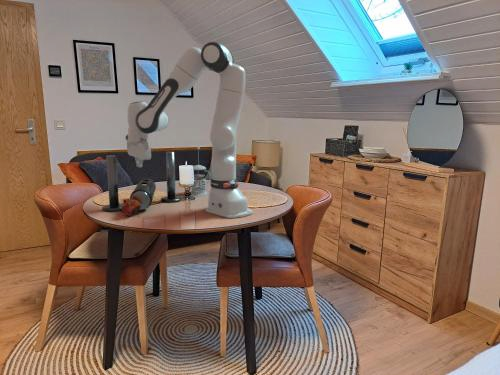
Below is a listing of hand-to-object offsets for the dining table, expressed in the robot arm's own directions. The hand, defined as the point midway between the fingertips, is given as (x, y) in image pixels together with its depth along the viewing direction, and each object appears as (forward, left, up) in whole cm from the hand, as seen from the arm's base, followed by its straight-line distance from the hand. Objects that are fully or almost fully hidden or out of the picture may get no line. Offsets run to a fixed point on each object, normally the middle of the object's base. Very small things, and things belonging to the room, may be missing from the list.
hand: (139, 167), depth 169 cm
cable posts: (-4, 0, -17) cm, 18 cm away
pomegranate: (-18, +11, -18) cm, 27 cm away
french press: (+2, -34, -18) cm, 39 cm away
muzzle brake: (-4, 0, -18) cm, 18 cm away
